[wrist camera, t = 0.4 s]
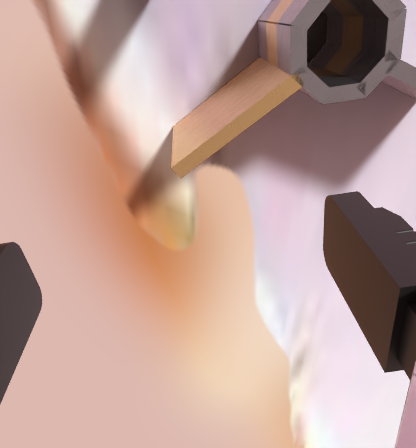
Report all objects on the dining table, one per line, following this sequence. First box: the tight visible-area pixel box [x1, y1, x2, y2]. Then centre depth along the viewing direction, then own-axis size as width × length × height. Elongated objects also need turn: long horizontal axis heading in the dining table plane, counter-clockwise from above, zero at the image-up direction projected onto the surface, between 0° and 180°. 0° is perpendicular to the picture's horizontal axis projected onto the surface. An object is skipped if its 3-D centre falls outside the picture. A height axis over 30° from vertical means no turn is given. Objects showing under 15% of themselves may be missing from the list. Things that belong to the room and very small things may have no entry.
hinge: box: [171, 0, 416, 179], centre depth 28 cm, size 10×23×10 cm, turn 97°
